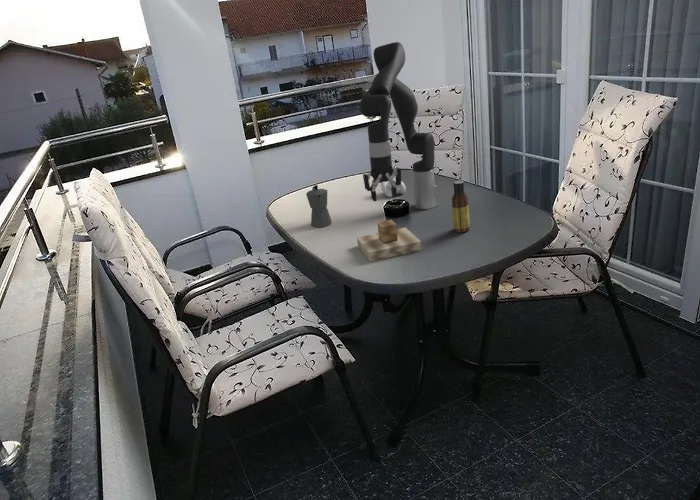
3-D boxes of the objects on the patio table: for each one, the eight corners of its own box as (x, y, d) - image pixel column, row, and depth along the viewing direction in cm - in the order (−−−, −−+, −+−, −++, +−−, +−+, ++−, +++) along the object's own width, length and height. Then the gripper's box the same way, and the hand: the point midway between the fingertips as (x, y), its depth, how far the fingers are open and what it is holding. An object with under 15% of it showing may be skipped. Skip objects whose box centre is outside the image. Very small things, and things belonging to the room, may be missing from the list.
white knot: (411, 192, 249) (409, 174, 246) (400, 199, 240) (398, 181, 237) (391, 190, 255) (389, 173, 252) (379, 198, 246) (378, 180, 243)
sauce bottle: (470, 227, 199) (469, 179, 191) (468, 233, 193) (467, 184, 186) (454, 227, 201) (452, 179, 193) (451, 233, 196) (450, 184, 188)
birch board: (406, 235, 199) (405, 227, 197) (421, 250, 184) (420, 241, 183) (358, 245, 195) (357, 237, 193) (369, 261, 180) (368, 252, 179)
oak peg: (393, 242, 192) (391, 219, 189) (398, 247, 187) (396, 224, 184) (379, 245, 191) (377, 222, 188) (384, 250, 186) (381, 227, 183)
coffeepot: (334, 227, 217) (329, 187, 210) (313, 231, 215) (307, 191, 208) (328, 216, 231) (322, 178, 223) (308, 219, 229) (302, 182, 222)
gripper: (395, 148, 180) (399, 192, 186) (357, 155, 177) (362, 199, 184) (403, 152, 173) (406, 197, 180) (363, 159, 170) (368, 205, 177)
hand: (384, 198), depth 182 cm, fingers open, 6 cm apart
